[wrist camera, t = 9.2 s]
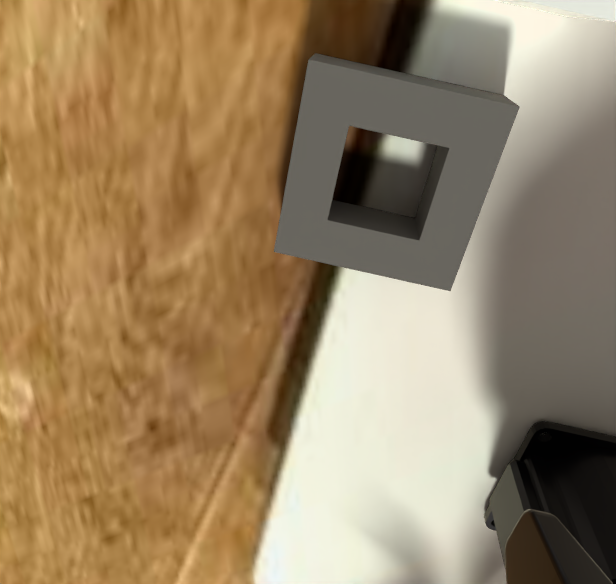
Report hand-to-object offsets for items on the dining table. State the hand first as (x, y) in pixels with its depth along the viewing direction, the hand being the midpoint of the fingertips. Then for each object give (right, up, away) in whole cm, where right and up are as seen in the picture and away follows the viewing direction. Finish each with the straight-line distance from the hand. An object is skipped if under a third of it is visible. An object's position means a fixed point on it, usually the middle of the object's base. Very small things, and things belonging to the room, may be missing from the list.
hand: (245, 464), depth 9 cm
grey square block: (+4, +7, +10) cm, 12 cm away
